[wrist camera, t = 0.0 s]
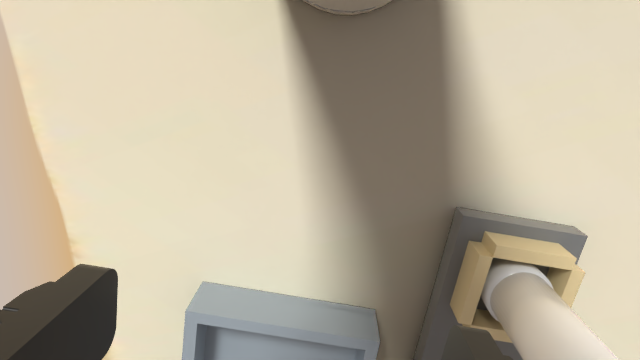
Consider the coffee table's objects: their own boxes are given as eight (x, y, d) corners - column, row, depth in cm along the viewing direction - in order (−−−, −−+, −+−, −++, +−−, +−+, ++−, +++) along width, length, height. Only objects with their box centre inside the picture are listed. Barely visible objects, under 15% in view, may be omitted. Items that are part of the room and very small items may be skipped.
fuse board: (456, 207, 27) (473, 228, 23) (574, 226, 27) (608, 250, 23) (394, 425, 32) (401, 468, 29) (492, 440, 32) (510, 485, 29)
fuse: (485, 249, 26) (606, 402, 14) (546, 259, 26) (714, 419, 14) (468, 302, 27) (568, 482, 16) (527, 311, 27) (668, 498, 16)
